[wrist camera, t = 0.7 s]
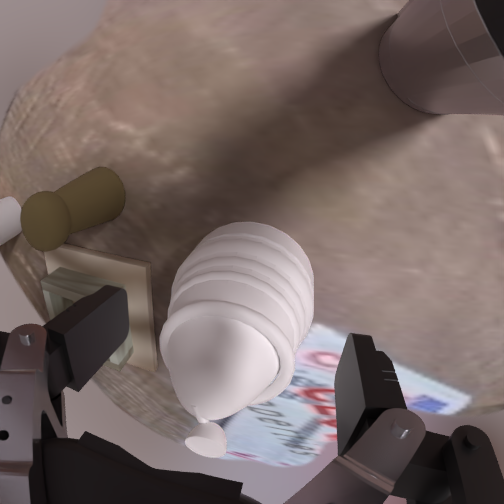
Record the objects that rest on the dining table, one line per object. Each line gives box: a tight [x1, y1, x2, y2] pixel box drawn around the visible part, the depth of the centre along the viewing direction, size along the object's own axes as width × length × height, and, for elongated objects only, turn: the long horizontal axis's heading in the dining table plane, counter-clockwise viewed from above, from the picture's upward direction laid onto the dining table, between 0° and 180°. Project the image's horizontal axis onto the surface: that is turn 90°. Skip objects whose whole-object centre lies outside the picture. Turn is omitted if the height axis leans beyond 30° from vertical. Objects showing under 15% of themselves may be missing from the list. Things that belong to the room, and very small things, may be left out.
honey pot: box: [159, 221, 314, 458], centre depth 24 cm, size 13×13×18 cm
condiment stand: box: [41, 243, 158, 372], centre depth 35 cm, size 16×16×5 cm
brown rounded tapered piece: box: [20, 167, 125, 252], centre depth 26 cm, size 6×6×11 cm
